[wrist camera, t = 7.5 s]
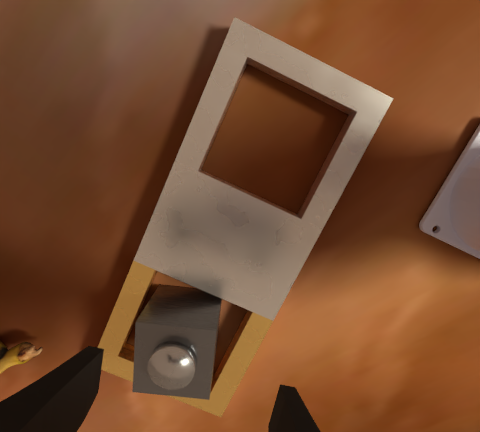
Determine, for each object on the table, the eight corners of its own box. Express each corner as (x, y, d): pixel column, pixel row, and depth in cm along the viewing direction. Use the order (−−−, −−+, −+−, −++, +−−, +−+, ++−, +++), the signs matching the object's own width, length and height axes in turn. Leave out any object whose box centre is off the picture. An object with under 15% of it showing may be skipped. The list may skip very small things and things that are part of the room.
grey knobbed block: (222, 290, 22) (215, 337, 17) (216, 346, 23) (208, 408, 18) (159, 283, 22) (131, 328, 17) (156, 340, 23) (128, 400, 18)
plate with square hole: (381, 102, 19) (393, 98, 18) (222, 400, 24) (221, 417, 22) (235, 27, 18) (234, 16, 17) (99, 351, 23) (90, 365, 22)
